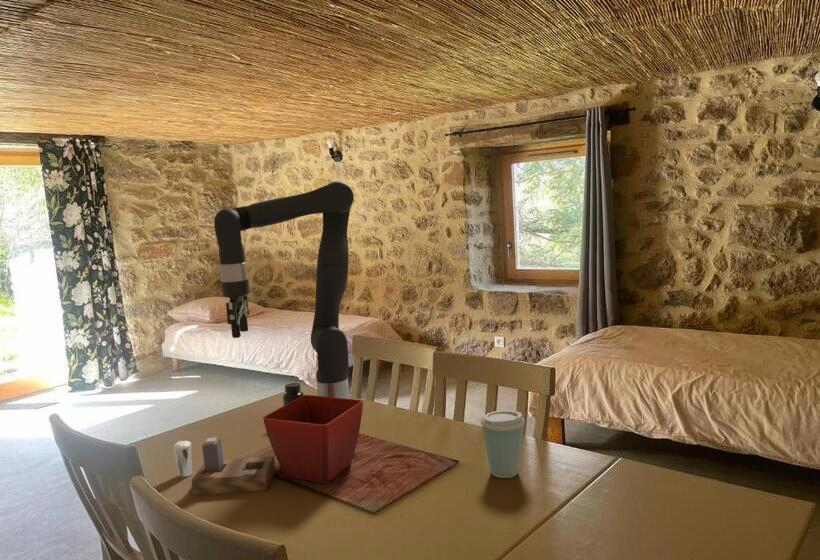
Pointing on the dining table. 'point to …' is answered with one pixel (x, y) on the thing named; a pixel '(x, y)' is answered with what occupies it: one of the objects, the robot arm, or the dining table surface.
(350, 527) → the dining table surface
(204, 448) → the plug
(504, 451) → the disposable coffee cup
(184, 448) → the milkshake
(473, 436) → the dining table surface
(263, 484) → the port deck
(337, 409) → the plant pot
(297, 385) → the supplement bottle
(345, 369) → the robot arm
